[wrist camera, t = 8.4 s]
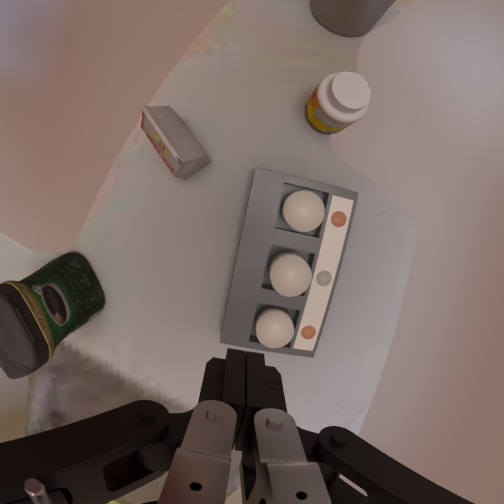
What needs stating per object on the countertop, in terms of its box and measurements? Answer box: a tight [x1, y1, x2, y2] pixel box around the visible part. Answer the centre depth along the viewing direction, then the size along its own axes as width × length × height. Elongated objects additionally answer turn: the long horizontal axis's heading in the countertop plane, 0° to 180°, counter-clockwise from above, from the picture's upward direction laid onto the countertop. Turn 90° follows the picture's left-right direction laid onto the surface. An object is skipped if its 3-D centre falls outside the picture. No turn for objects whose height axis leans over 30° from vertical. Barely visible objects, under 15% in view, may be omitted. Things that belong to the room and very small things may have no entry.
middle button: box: [269, 251, 312, 297], centre depth 34 cm, size 4×4×3 cm
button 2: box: [281, 191, 325, 232], centre depth 34 cm, size 4×4×3 cm
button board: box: [220, 168, 358, 357], centre depth 37 cm, size 21×12×3 cm, turn 168°
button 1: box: [255, 305, 294, 348], centre depth 37 cm, size 4×4×3 cm
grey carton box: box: [141, 106, 211, 179], centre depth 30 cm, size 4×7×10 cm, turn 34°
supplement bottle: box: [305, 71, 371, 134], centre depth 30 cm, size 6×6×10 cm
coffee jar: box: [0, 252, 104, 379], centre depth 29 cm, size 10×8×19 cm
